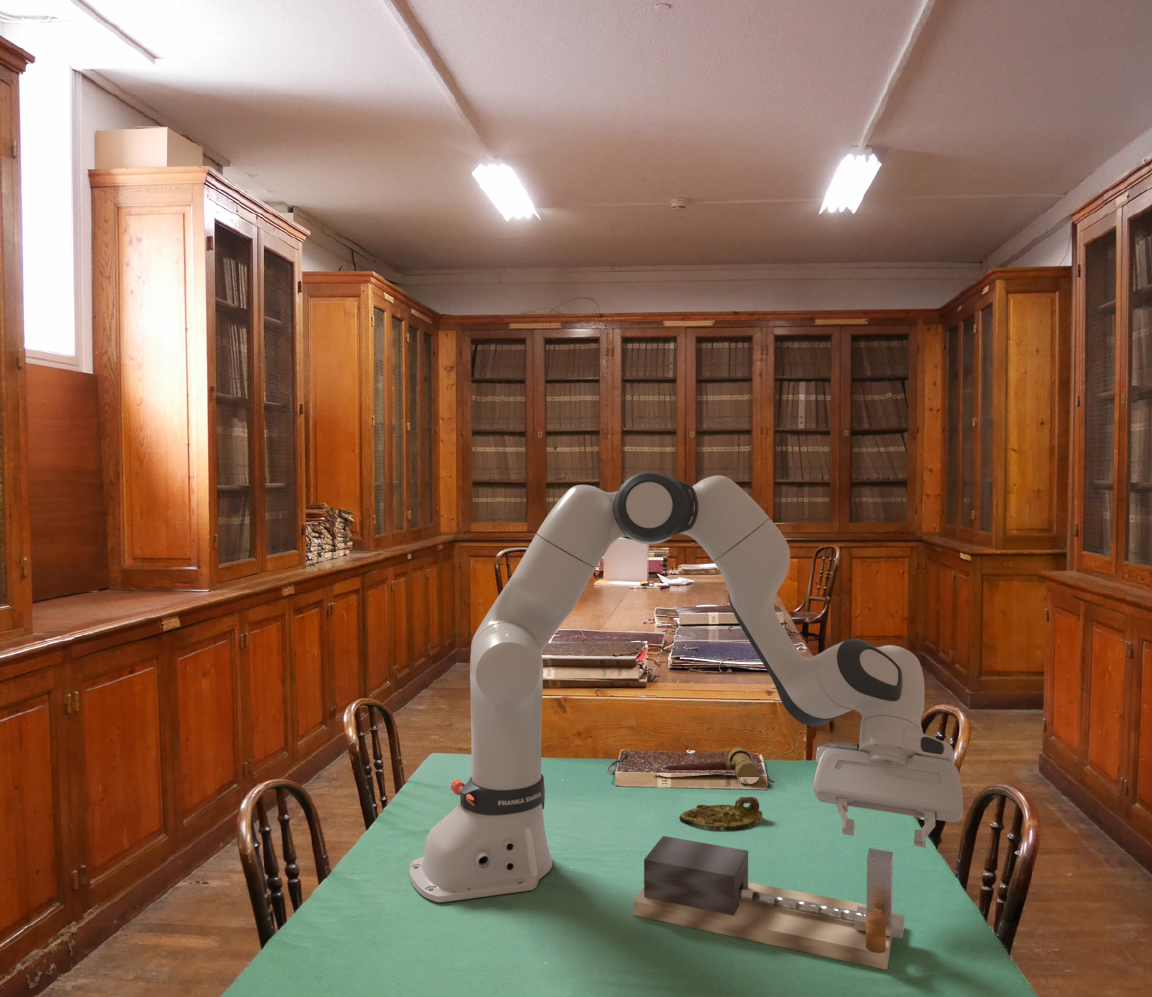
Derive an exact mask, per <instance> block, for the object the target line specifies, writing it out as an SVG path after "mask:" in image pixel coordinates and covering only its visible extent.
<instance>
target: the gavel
mask: <svg viewBox="0 0 1152 997" xmlns="http://www.w3.org/2000/svg"><path fill="white" fill-rule="evenodd" d="M662 768H663V769H668V770H735V776H736V775H737V777H738V778H739V777H740V778H741V777H759V776H760V777H761V773H760V770H759V768H758V766H757V765H756V763H755V762H753V761H752V757H751V755H750V754H749V752H748V750H746V749H745V748H743V747H735V748H733V749H731V751H730V752H729V753H728V756H727V761H711V762H701V763H700V762H698V763H687V764H686V763H685V764H672V765H666V766H664V767H662ZM737 777H736V778H737ZM760 777H759V778H760ZM738 778H737V779H738Z"/></svg>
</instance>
